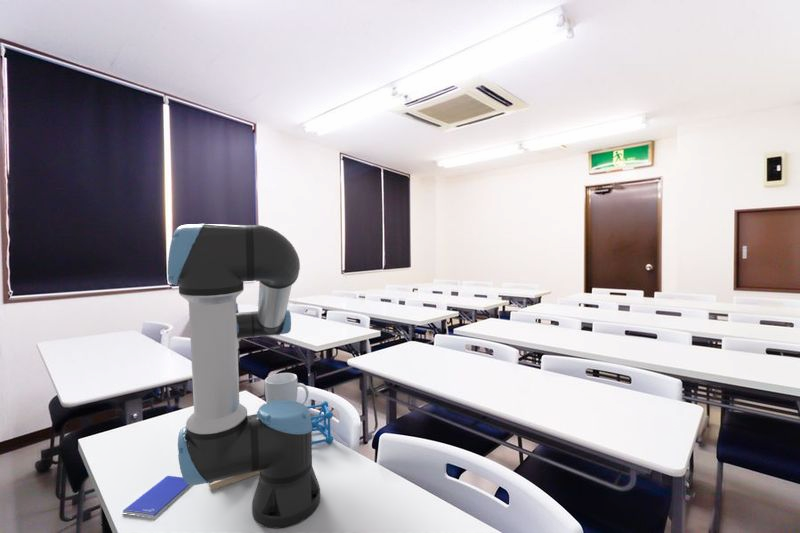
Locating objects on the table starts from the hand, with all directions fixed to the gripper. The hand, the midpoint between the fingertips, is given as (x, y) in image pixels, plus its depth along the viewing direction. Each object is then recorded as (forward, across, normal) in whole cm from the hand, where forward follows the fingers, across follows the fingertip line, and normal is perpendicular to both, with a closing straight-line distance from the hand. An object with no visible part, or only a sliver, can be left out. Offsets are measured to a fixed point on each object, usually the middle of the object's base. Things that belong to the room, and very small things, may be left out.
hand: (228, 423), depth 114 cm
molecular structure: (+4, -18, -22) cm, 28 cm away
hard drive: (+5, -21, +19) cm, 28 cm away
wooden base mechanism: (+4, -14, +2) cm, 15 cm away
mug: (+4, +5, -20) cm, 21 cm away
